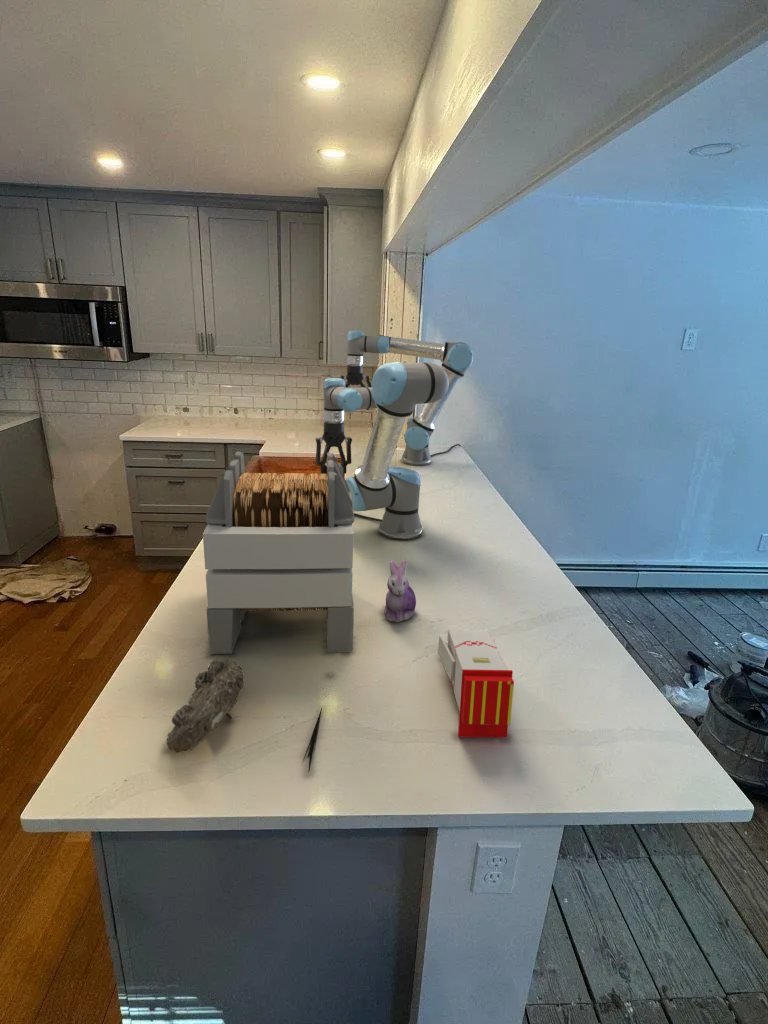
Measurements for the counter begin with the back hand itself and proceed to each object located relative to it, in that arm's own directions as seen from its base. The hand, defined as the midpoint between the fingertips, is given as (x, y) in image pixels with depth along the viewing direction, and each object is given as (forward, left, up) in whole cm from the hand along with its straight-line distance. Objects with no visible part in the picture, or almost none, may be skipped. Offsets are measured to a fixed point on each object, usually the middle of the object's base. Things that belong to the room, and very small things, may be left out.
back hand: (353, 409), depth 276 cm
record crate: (+148, +25, -27) cm, 153 cm away
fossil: (+187, +26, -27) cm, 191 cm away
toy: (+165, +73, -27) cm, 183 cm away
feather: (+182, +46, -27) cm, 190 cm away
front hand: (+69, +12, -16) cm, 72 cm away
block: (+69, +12, -20) cm, 73 cm away
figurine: (+138, +53, -27) cm, 151 cm away
